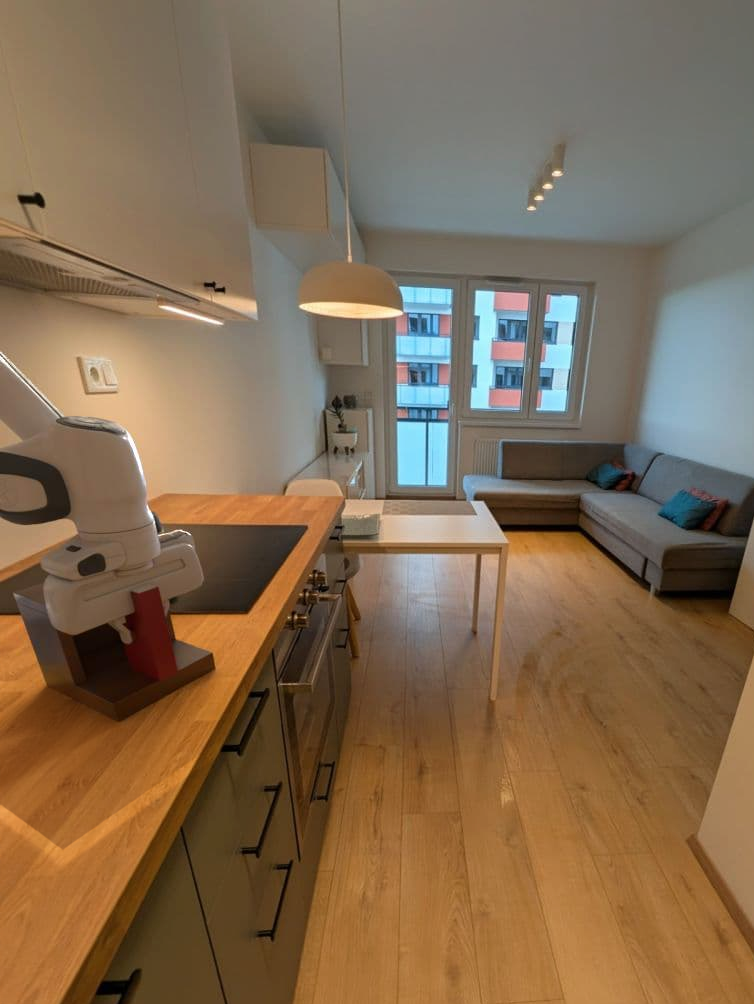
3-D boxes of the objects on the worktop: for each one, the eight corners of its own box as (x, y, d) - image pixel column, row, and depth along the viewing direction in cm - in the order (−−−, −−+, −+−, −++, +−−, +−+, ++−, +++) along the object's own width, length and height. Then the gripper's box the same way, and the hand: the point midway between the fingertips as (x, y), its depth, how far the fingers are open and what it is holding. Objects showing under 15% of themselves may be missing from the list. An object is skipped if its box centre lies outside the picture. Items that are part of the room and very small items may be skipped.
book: (130, 669, 77) (106, 582, 71) (148, 660, 79) (127, 576, 73) (160, 681, 74) (137, 593, 68) (178, 672, 76) (158, 585, 71)
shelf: (46, 685, 78) (12, 592, 71) (146, 641, 90) (125, 559, 84) (118, 722, 70) (88, 621, 64) (215, 668, 83) (198, 580, 77)
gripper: (176, 523, 78) (192, 604, 84) (23, 562, 61) (57, 660, 67) (204, 529, 75) (219, 613, 81) (52, 572, 59) (85, 673, 65)
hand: (145, 635), depth 74 cm, fingers closed on book, 3 cm apart
